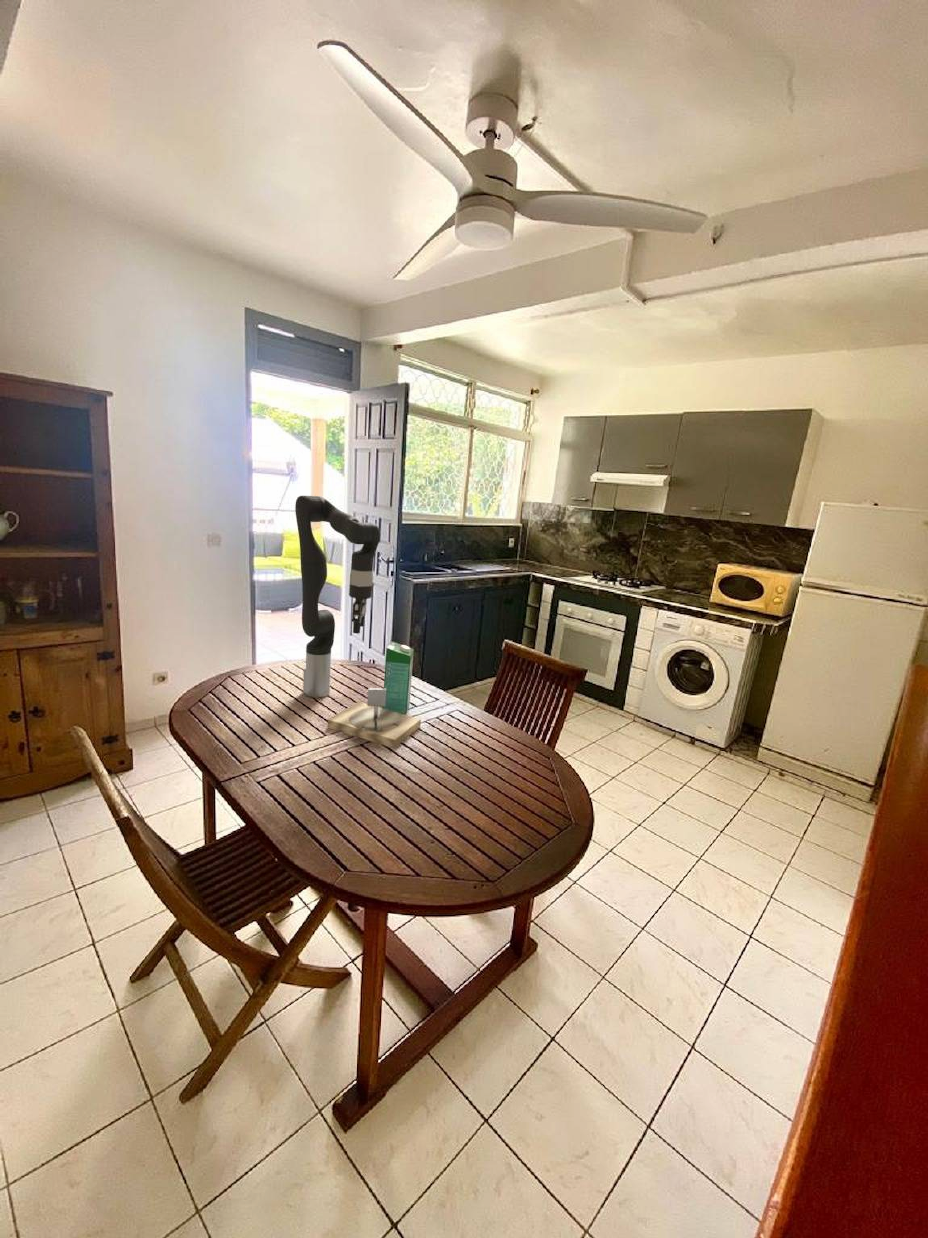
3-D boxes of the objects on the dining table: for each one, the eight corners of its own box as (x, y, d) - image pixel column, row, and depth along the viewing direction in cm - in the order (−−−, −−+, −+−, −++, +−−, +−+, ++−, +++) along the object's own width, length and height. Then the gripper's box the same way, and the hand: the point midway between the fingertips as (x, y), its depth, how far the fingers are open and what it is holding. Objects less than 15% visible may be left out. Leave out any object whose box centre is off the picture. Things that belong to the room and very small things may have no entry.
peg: (366, 717, 171) (368, 688, 169) (384, 717, 172) (386, 688, 170) (366, 730, 162) (368, 699, 159) (384, 730, 163) (386, 700, 161)
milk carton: (406, 714, 185) (411, 650, 179) (382, 711, 185) (386, 647, 179) (409, 704, 193) (414, 643, 187) (386, 701, 193) (390, 640, 187)
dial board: (327, 727, 168) (327, 718, 167) (358, 709, 185) (358, 700, 184) (394, 748, 159) (394, 739, 158) (420, 727, 176) (421, 718, 175)
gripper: (353, 578, 172) (351, 623, 176) (345, 585, 158) (343, 634, 162) (375, 580, 173) (372, 625, 177) (369, 588, 159) (366, 636, 163)
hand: (358, 629), depth 169 cm, fingers open, 8 cm apart
